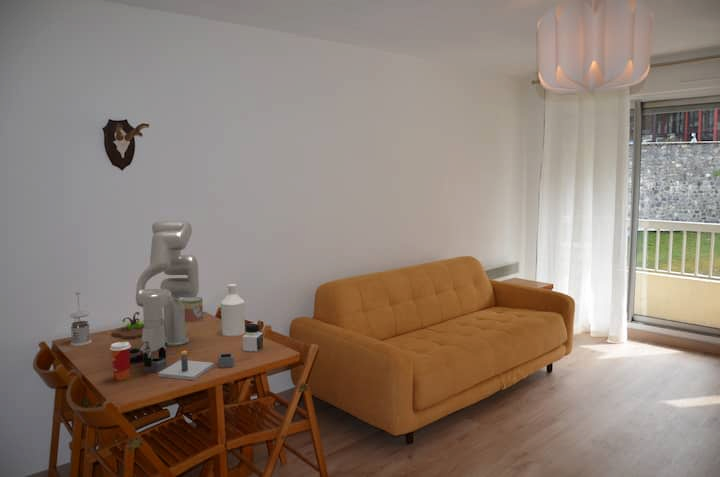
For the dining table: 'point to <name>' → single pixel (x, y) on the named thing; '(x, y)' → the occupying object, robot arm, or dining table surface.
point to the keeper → (186, 369)
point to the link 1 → (156, 364)
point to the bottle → (233, 313)
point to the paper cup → (121, 360)
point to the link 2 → (225, 360)
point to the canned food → (193, 309)
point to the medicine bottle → (252, 338)
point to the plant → (130, 329)
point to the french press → (80, 328)
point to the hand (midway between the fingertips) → (155, 362)
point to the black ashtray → (135, 355)
